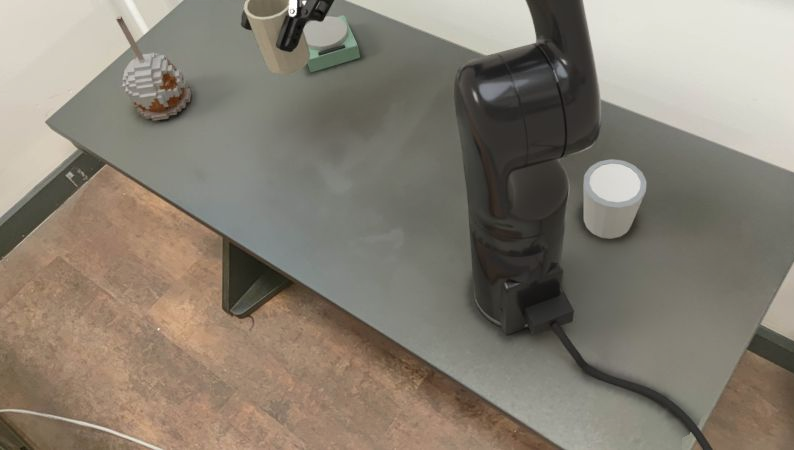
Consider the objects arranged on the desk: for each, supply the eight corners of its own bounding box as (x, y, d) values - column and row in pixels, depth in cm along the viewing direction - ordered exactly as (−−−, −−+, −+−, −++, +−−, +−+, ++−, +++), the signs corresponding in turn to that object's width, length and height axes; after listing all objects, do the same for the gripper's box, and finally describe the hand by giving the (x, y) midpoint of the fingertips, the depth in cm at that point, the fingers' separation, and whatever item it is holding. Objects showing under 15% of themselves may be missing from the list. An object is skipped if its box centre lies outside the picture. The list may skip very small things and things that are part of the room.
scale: (360, 57, 103) (356, 40, 101) (310, 72, 102) (305, 55, 100) (347, 27, 108) (343, 10, 105) (299, 41, 107) (294, 24, 104)
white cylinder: (602, 187, 86) (609, 149, 80) (649, 217, 82) (659, 179, 77) (566, 220, 83) (570, 184, 77) (613, 253, 80) (621, 217, 74)
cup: (309, 71, 81) (291, 15, 75) (263, 77, 81) (241, 21, 75) (310, 40, 84) (293, -16, 78) (266, 46, 84) (246, -10, 78)
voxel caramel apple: (189, 118, 99) (145, 33, 87) (134, 126, 99) (82, 41, 87) (194, 80, 103) (152, -6, 91) (142, 88, 103) (93, 3, 91)
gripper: (247, -145, 73) (200, 9, 79) (342, -105, 67) (284, 60, 72) (296, -120, 80) (250, 22, 85) (388, -81, 74) (331, 69, 79)
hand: (266, 39), depth 79 cm, fingers closed on cup, 5 cm apart
